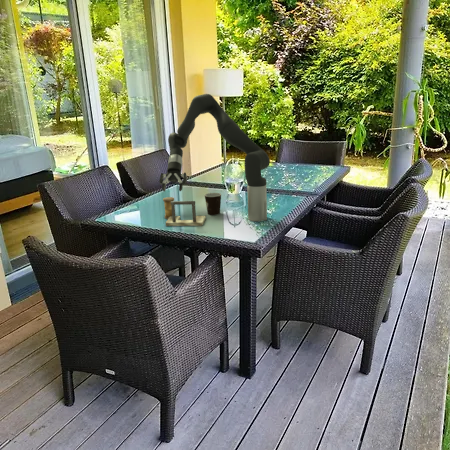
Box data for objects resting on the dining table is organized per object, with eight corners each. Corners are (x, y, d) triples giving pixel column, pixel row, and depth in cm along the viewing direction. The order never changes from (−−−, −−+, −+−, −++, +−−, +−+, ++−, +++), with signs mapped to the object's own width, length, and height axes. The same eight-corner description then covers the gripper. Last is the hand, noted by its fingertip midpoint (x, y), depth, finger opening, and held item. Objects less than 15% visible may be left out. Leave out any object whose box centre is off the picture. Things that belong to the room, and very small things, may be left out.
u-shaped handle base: (205, 218, 222) (204, 196, 218) (202, 225, 211) (201, 201, 208) (170, 219, 224) (168, 196, 220) (165, 225, 213) (163, 202, 210)
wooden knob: (176, 215, 229) (175, 197, 226) (174, 219, 224) (172, 199, 221) (166, 215, 230) (164, 197, 226) (163, 219, 224) (161, 200, 221)
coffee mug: (206, 211, 235) (205, 193, 232) (222, 210, 234) (221, 192, 231) (204, 217, 224) (203, 198, 220) (221, 217, 223) (220, 198, 220)
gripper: (160, 161, 236) (156, 187, 228) (186, 160, 234) (184, 186, 227) (163, 169, 242) (160, 194, 235) (189, 168, 241) (186, 194, 233)
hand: (171, 190), depth 231 cm, fingers open, 8 cm apart
